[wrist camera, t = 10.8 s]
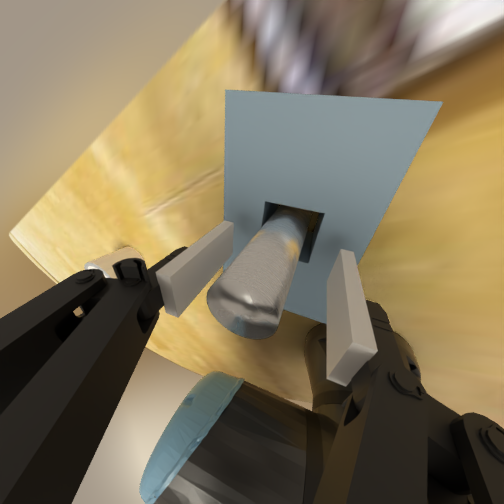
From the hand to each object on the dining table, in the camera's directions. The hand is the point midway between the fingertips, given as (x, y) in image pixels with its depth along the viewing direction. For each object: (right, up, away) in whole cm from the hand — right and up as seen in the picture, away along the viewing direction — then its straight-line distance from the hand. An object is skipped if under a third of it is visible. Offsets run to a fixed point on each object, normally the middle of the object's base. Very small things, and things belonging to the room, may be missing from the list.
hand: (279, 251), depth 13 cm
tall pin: (+3, +5, +8) cm, 10 cm away
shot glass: (-26, -1, +25) cm, 36 cm away
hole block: (+3, +5, +8) cm, 10 cm away
